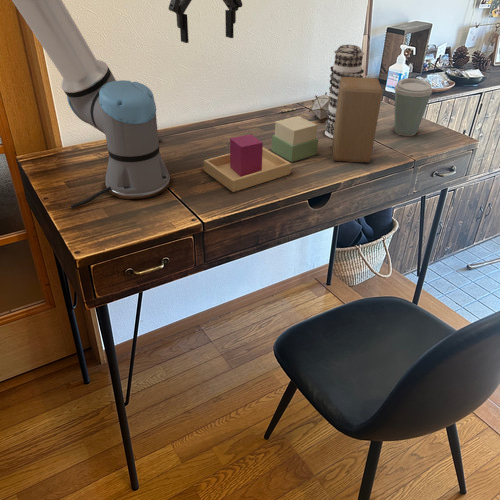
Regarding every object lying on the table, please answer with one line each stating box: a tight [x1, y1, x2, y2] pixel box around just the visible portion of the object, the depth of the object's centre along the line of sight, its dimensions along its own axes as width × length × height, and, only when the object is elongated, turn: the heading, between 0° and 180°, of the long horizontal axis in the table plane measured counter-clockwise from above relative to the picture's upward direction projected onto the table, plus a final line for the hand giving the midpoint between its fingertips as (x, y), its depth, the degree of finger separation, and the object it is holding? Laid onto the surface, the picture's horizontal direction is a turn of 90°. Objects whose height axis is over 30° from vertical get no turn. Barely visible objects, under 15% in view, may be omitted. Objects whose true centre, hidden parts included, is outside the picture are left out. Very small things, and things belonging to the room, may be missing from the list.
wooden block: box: [331, 77, 383, 164], centre depth 129 cm, size 10×10×20 cm
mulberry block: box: [229, 133, 264, 177], centre depth 122 cm, size 6×6×8 cm
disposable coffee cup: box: [393, 77, 433, 137], centre depth 145 cm, size 11×11×15 cm
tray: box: [203, 146, 292, 193], centre depth 124 cm, size 18×14×3 cm
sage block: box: [270, 134, 319, 163], centre depth 134 cm, size 9×9×4 cm
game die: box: [308, 91, 331, 123], centre depth 154 cm, size 9×8×10 cm
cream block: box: [274, 115, 318, 145], centre depth 132 cm, size 8×8×4 cm
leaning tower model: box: [324, 44, 365, 139], centre depth 140 cm, size 9×9×25 cm
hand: (207, 39), depth 127 cm, fingers open, 13 cm apart
